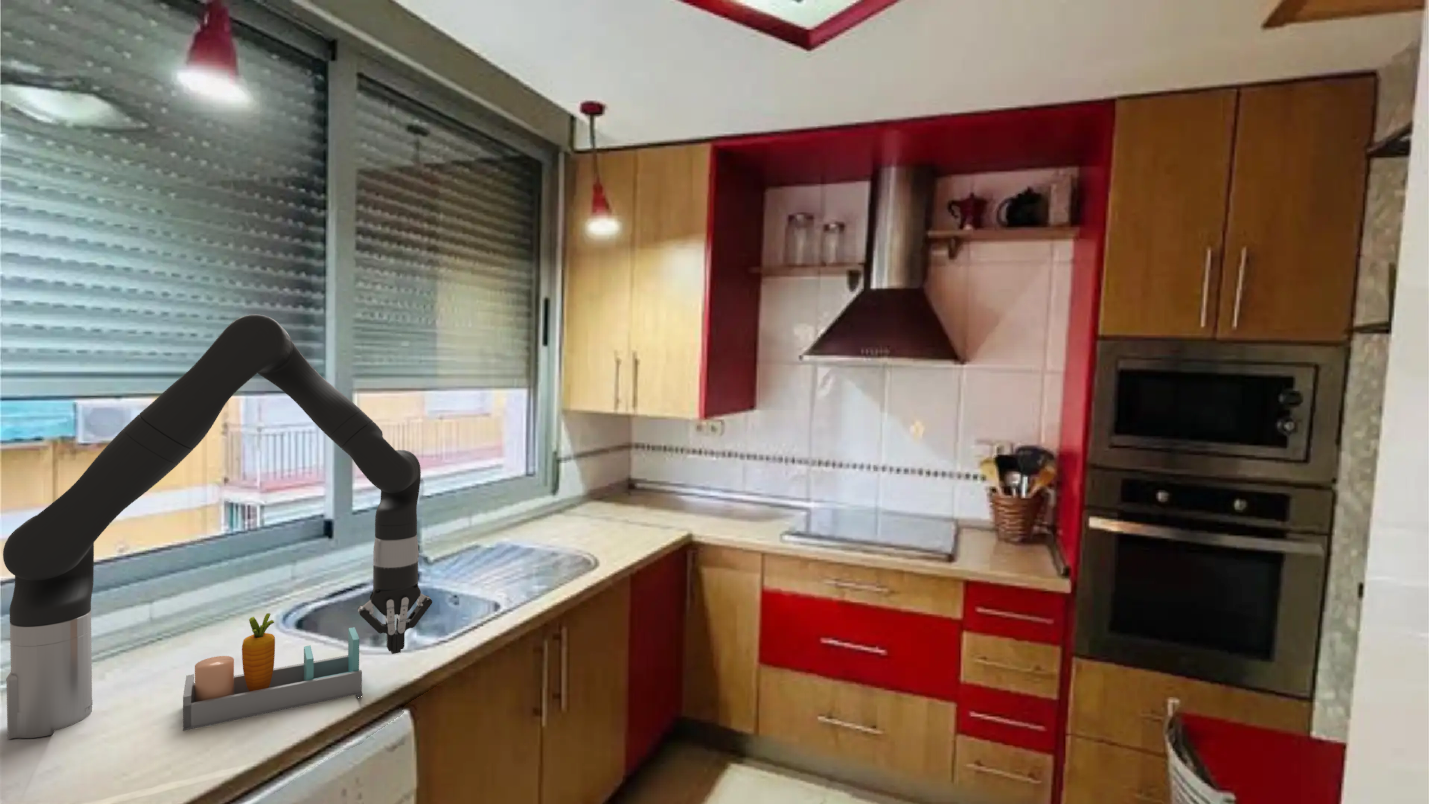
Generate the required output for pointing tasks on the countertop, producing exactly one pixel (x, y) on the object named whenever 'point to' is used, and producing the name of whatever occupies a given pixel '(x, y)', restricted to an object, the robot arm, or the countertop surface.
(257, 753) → the countertop surface
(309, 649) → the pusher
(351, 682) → the tray
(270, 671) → the carrot
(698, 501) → the countertop surface
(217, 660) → the pink cylinder
